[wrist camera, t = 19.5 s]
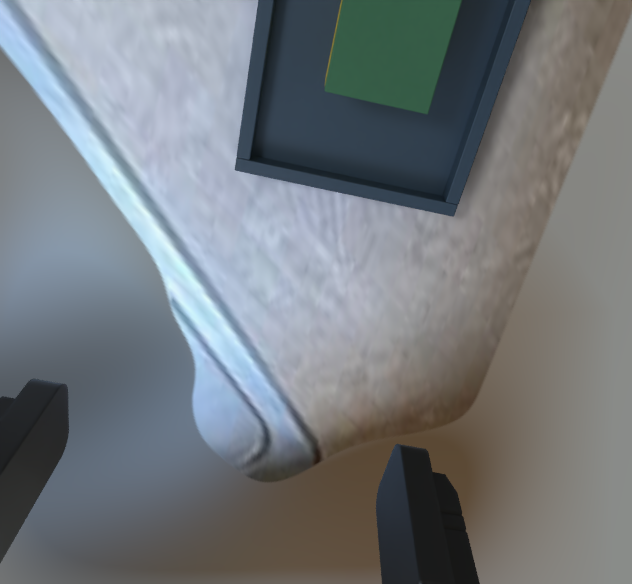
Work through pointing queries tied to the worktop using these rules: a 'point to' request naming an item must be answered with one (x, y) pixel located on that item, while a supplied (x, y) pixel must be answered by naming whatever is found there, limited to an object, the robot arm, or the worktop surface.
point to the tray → (370, 108)
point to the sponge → (391, 50)
